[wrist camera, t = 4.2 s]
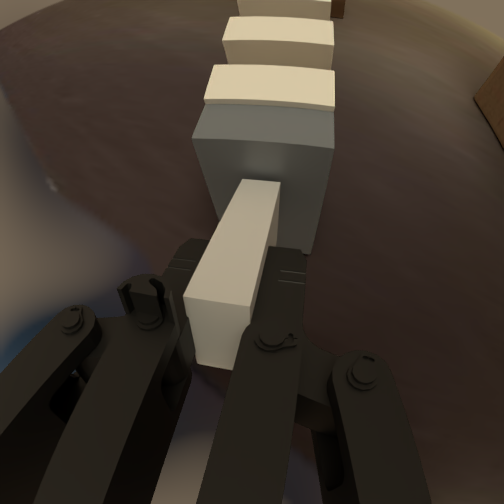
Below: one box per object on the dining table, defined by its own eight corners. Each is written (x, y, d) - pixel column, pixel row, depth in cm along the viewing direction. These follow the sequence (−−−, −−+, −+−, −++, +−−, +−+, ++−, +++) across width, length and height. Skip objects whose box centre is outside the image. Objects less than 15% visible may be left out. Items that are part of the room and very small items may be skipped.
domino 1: (310, 254, 18) (334, 148, 10) (227, 244, 18) (191, 138, 10) (312, 224, 19) (333, 112, 10) (233, 216, 19) (205, 104, 11)
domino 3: (319, 140, 19) (334, 45, 11) (247, 134, 20) (222, 40, 11) (320, 117, 20) (333, 21, 11) (251, 111, 20) (229, 17, 12)
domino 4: (321, 96, 20) (331, 2, 11) (254, 91, 21) (236, -2, 12) (321, 77, 20) (330, -14, 11) (257, 72, 21) (242, -17, 12)
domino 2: (315, 194, 19) (334, 106, 10) (238, 186, 19) (203, 98, 11) (317, 166, 19) (334, 71, 10) (242, 159, 20) (214, 64, 11)
